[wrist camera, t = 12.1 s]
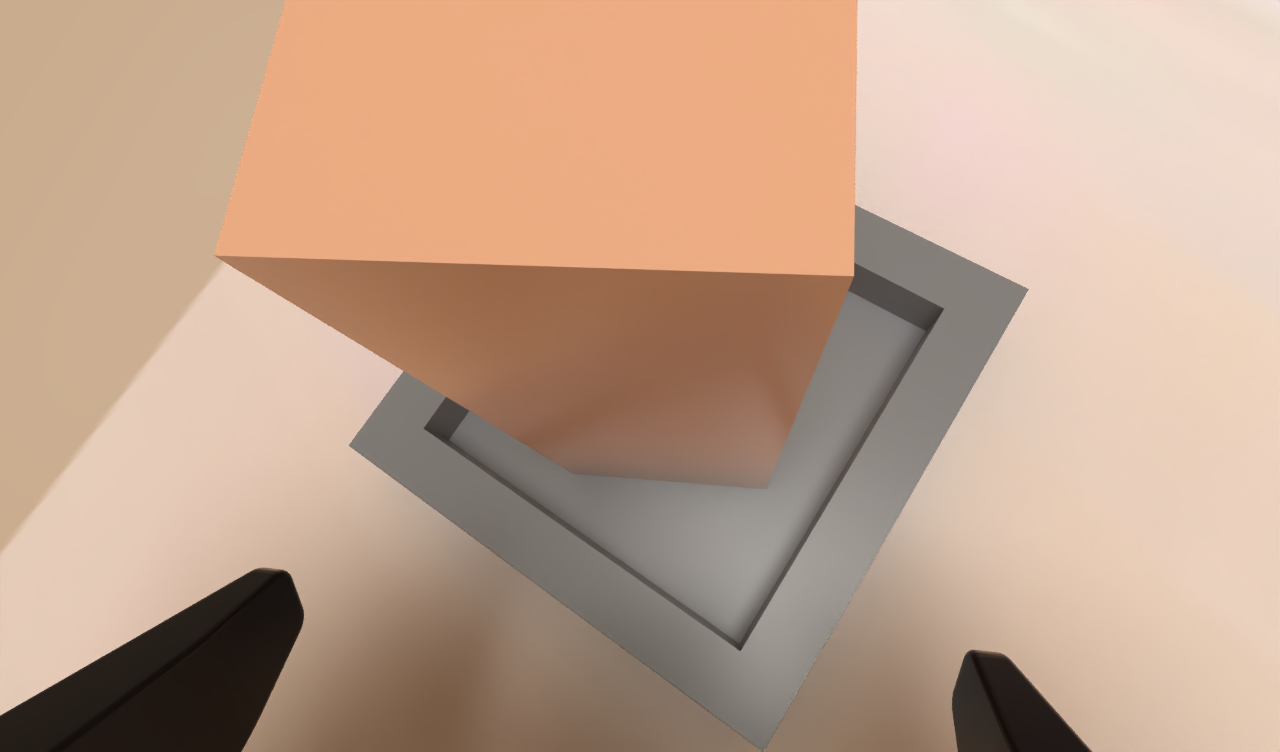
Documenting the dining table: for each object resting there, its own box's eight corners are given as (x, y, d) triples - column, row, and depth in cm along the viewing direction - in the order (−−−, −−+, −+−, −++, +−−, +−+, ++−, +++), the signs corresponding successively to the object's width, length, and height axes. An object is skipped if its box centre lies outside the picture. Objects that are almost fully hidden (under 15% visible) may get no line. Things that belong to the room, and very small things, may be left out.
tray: (759, 728, 16) (762, 751, 14) (390, 459, 19) (348, 445, 17) (994, 321, 18) (1028, 289, 16) (624, 135, 21) (613, 87, 19)
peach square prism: (766, 488, 17) (853, 275, 5) (572, 473, 18) (214, 256, 6) (774, 303, 18) (860, -242, 6) (593, 296, 19) (343, -202, 7)
